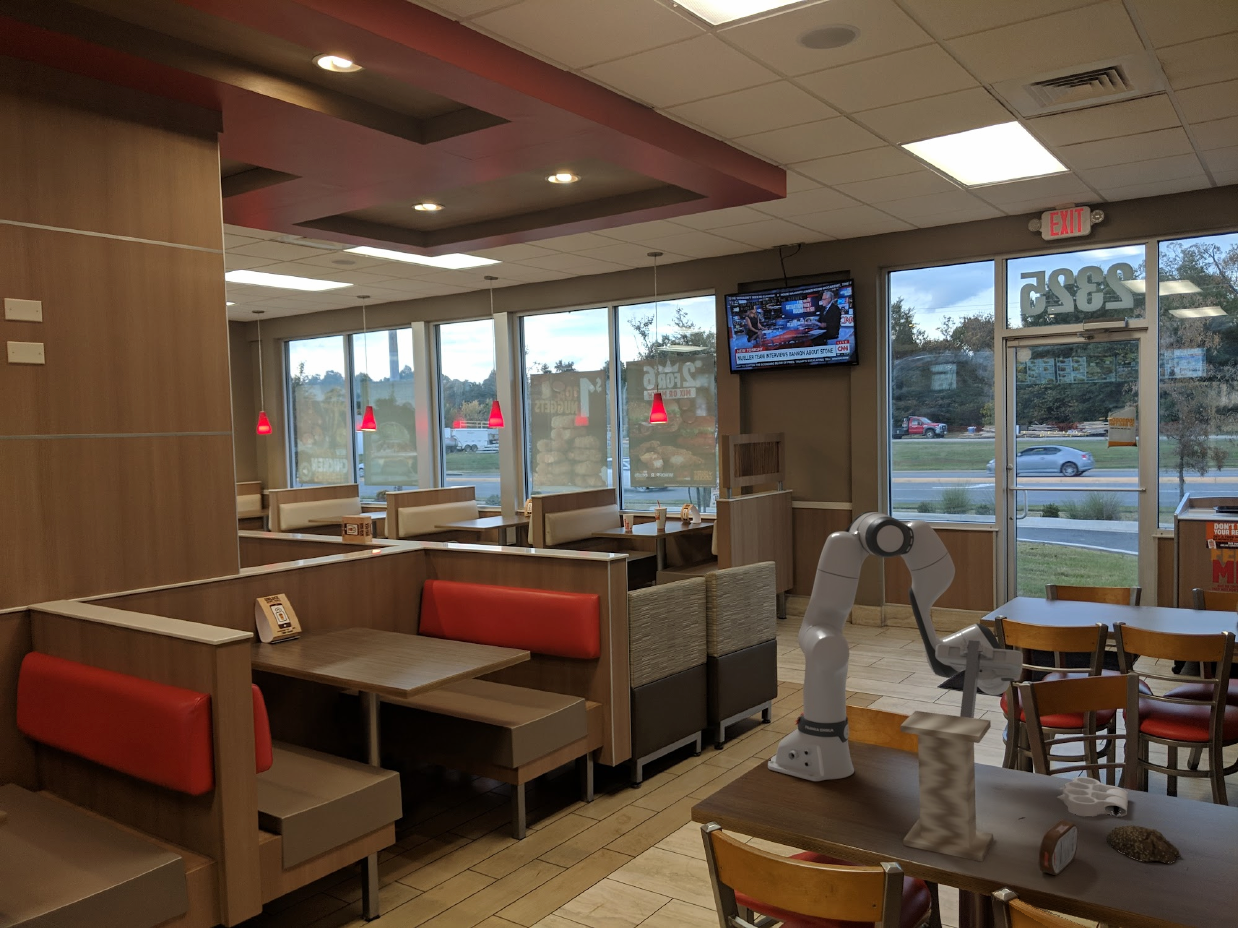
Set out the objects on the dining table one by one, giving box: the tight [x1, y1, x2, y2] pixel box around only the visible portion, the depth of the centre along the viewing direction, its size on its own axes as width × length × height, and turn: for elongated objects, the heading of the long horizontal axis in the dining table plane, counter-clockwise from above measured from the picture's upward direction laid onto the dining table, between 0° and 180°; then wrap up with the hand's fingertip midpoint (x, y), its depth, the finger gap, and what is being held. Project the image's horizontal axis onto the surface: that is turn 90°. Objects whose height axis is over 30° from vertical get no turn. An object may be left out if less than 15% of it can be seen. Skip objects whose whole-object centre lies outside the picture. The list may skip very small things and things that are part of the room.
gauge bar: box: [959, 640, 981, 718], centre depth 217 cm, size 24×2×2 cm
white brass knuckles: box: [1056, 776, 1129, 817], centre depth 216 cm, size 3×18×15 cm
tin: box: [1038, 818, 1079, 876], centre depth 185 cm, size 15×3×8 cm, turn 134°
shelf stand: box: [899, 710, 994, 862], centre depth 197 cm, size 16×12×26 cm
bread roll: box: [1106, 825, 1180, 864], centre depth 191 cm, size 13×12×5 cm
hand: (973, 647), depth 221 cm, fingers closed on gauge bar, 2 cm apart
